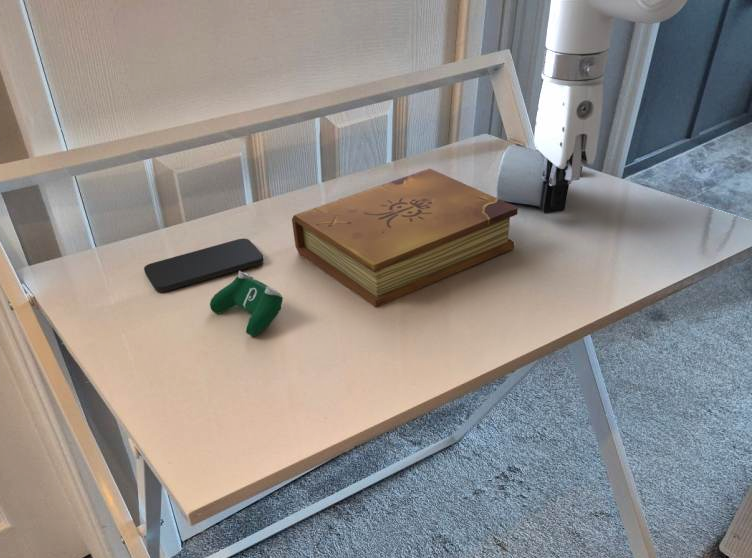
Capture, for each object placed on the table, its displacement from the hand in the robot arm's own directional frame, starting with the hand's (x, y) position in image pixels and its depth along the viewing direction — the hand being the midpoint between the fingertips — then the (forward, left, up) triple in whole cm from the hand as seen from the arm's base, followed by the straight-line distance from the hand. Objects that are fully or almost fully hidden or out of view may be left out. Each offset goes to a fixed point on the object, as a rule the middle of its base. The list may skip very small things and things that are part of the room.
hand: (551, 209), depth 96 cm
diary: (+18, +13, -2) cm, 22 cm away
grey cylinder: (+4, -7, -2) cm, 9 cm away
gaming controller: (+32, +33, -2) cm, 46 cm away
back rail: (+3, -21, -2) cm, 21 cm away
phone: (+43, +23, -2) cm, 49 cm away
